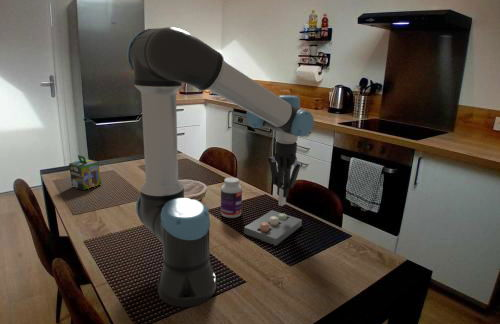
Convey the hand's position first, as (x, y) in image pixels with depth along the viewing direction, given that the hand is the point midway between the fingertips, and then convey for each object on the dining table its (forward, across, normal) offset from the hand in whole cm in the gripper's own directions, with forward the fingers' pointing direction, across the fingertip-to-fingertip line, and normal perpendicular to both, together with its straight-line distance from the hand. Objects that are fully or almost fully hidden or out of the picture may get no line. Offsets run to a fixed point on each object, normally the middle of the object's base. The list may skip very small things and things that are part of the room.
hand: (281, 204), depth 126 cm
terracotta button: (+6, 0, +11) cm, 13 cm away
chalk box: (+9, +89, +24) cm, 93 cm away
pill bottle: (+8, +19, +5) cm, 22 cm away
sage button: (+7, 0, -1) cm, 7 cm away
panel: (+8, 0, +5) cm, 10 cm away
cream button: (+6, 0, +5) cm, 8 cm away
